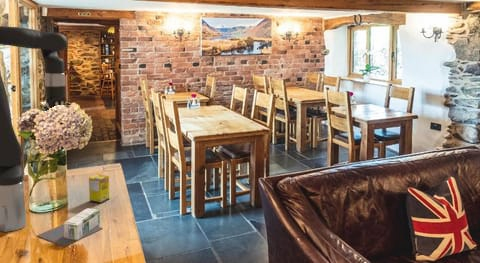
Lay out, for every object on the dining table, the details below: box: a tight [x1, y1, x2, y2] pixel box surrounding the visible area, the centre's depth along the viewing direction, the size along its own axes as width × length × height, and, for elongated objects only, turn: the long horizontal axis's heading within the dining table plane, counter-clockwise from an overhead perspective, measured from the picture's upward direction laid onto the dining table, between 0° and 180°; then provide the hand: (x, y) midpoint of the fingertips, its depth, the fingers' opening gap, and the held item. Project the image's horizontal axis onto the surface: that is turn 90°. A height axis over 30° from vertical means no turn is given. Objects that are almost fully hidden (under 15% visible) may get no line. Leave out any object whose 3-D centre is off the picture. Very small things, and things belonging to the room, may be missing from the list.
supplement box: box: [88, 173, 110, 204], centre depth 182 cm, size 6×6×11 cm
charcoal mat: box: [36, 224, 103, 248], centre depth 153 cm, size 17×14×1 cm
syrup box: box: [62, 207, 101, 241], centre depth 153 cm, size 6×6×14 cm
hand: (57, 127), depth 171 cm, fingers closed
